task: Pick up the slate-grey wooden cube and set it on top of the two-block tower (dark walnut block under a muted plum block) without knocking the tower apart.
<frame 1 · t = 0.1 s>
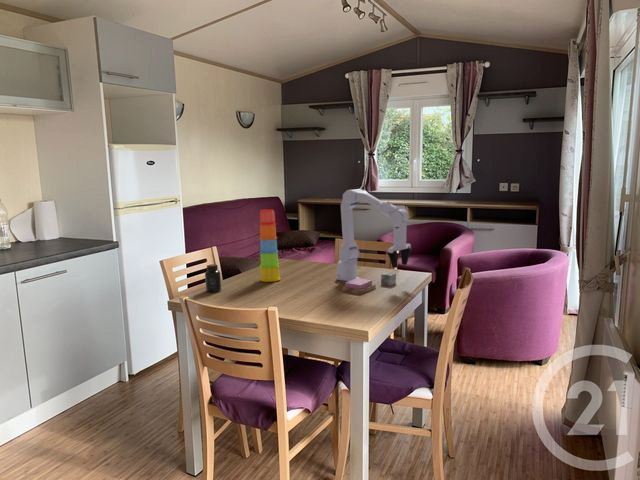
hand: (399, 266, 219), 10 cm above the table, tool pointing down, fingers open, 7 cm apart
stacking cups: (270, 280, 240), on the table
supplement bottle: (213, 291, 222), on the table
plum top block: (358, 285, 218), point 2 cm above the table
walnut base block: (358, 291, 219), on the table
slate cube: (388, 284, 228), on the table
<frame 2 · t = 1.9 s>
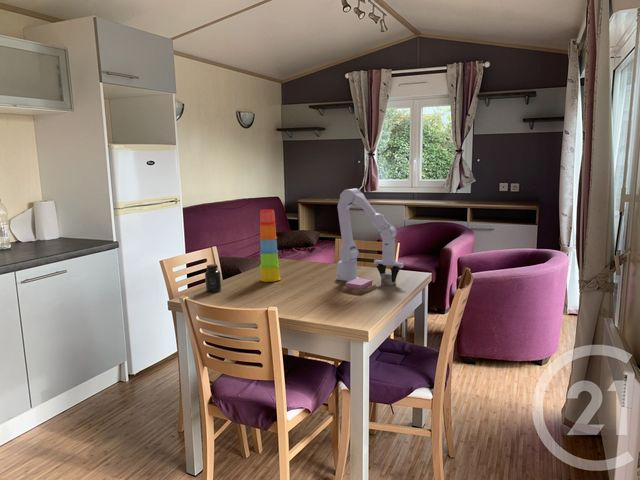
hand: (388, 280, 227), 1 cm above the table, tool pointing down, fingers closed on slate cube, 5 cm apart
plum top block: (359, 285, 218), point 2 cm above the table, touching walnut base block
walnut base block: (359, 291, 219), on the table, touching plum top block
slate cube: (388, 283, 227), on the table, touching gripper
everything else where it was.
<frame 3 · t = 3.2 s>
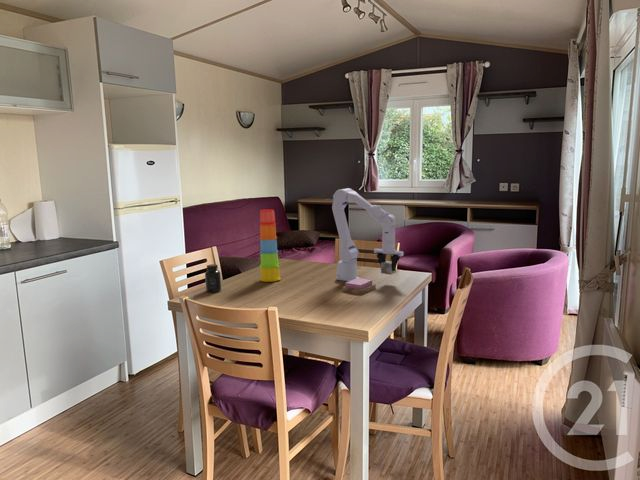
hand: (388, 269, 226), 7 cm above the table, tool pointing down, fingers closed on slate cube, 5 cm apart
slate cube: (388, 272, 227), point 5 cm above the table, touching gripper
everything else where it was.
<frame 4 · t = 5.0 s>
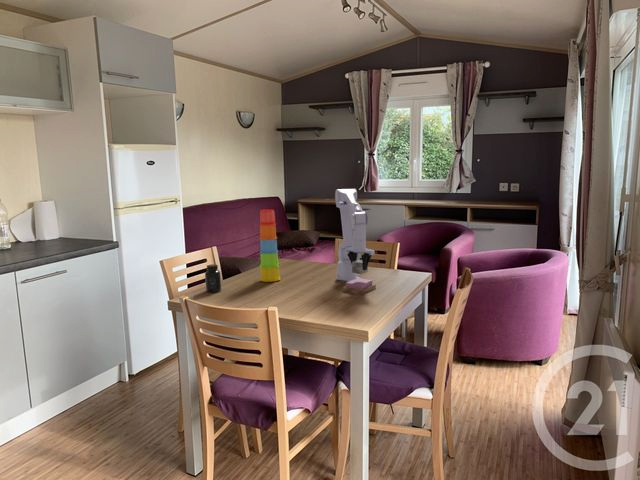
hand: (359, 269, 217), 9 cm above the table, tool pointing down, fingers closed on slate cube, 5 cm apart
slate cube: (359, 272, 218), point 8 cm above the table, touching gripper
everything else where it was.
when the fingers open (7 cm above the table, at t = 6.2 s): slate cube drops 2 cm, resting on plum top block.
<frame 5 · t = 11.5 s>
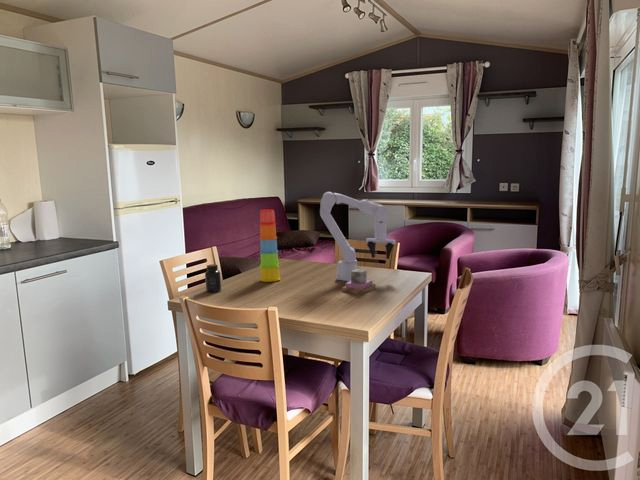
hand: (380, 257, 235), 10 cm above the table, tool pointing down, fingers open, 7 cm apart
plum top block: (359, 286, 218), point 2 cm above the table, touching slate cube, walnut base block
slate cube: (358, 281, 218), point 4 cm above the table, touching plum top block
everything else where it was.
at the end: slate cube touching plum top block; slate cube 0.0 cm from the plum top block (horizontally); plum top block 0.2 cm off-centre on the walnut base block, point 2.5 cm above the walnut base block's base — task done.
